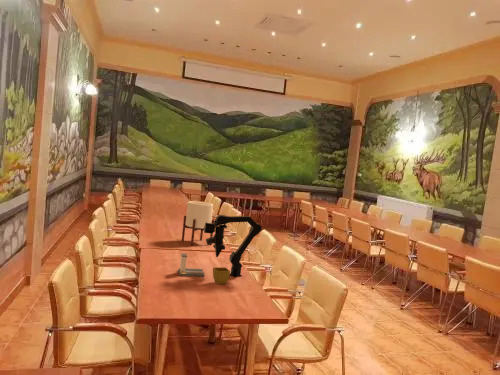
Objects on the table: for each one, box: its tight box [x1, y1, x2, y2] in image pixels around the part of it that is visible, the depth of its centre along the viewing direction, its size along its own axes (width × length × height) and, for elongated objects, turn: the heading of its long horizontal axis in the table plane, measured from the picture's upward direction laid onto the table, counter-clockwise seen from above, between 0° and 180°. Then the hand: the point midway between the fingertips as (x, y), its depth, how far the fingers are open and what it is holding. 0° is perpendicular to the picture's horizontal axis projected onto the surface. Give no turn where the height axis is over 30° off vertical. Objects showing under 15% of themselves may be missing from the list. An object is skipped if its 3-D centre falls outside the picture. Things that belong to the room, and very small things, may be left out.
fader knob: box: [179, 252, 188, 271], centre depth 277 cm, size 3×6×11 cm, turn 14°
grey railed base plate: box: [177, 267, 205, 278], centre depth 278 cm, size 16×12×2 cm
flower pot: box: [212, 266, 231, 285], centre depth 264 cm, size 9×9×9 cm
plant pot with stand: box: [181, 200, 215, 247], centre depth 375 cm, size 22×22×36 cm
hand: (216, 257), depth 282 cm, fingers closed
